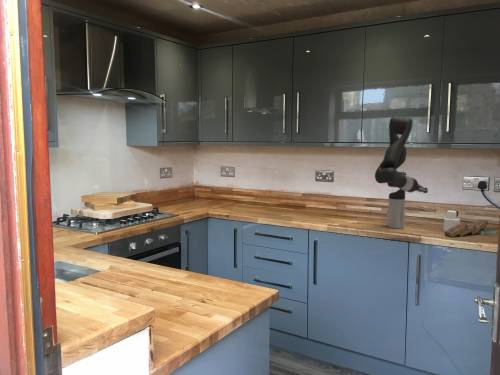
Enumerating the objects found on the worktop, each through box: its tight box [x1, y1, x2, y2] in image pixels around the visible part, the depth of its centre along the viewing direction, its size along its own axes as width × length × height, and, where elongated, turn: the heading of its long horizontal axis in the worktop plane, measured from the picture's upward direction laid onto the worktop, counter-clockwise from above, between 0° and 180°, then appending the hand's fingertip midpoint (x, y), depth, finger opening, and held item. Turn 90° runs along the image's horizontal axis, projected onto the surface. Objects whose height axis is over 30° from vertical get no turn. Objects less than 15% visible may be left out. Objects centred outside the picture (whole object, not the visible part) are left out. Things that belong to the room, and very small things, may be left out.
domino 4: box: [480, 224, 500, 232], centre depth 235 cm, size 5×2×12 cm
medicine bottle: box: [443, 209, 461, 232], centre depth 240 cm, size 7×7×12 cm
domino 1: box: [444, 222, 468, 238], centre depth 227 cm, size 5×2×12 cm
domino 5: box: [476, 230, 499, 235], centre depth 235 cm, size 5×2×12 cm
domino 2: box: [455, 223, 476, 237], centre depth 230 cm, size 5×2×12 cm
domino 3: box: [466, 218, 489, 236], centre depth 233 cm, size 5×2×12 cm
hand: (426, 191), depth 221 cm, fingers closed
